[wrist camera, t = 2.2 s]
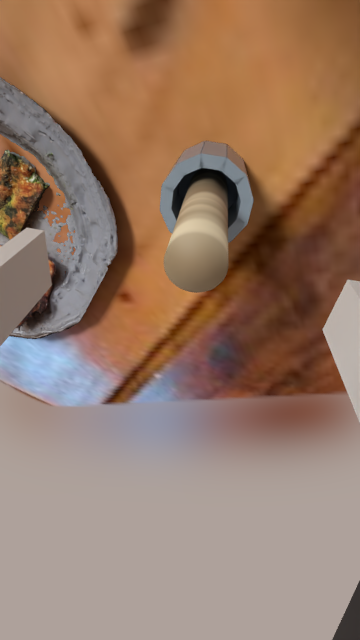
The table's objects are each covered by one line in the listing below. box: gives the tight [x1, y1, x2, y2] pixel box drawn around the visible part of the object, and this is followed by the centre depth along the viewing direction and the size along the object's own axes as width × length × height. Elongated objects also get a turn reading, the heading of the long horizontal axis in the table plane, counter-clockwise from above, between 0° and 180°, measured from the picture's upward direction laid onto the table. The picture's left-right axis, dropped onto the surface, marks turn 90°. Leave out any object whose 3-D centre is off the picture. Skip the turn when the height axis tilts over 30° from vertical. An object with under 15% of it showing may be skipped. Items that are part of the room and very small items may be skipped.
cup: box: [160, 141, 254, 242], centre depth 24 cm, size 6×6×5 cm
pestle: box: [164, 168, 228, 292], centre depth 20 cm, size 3×3×13 cm
